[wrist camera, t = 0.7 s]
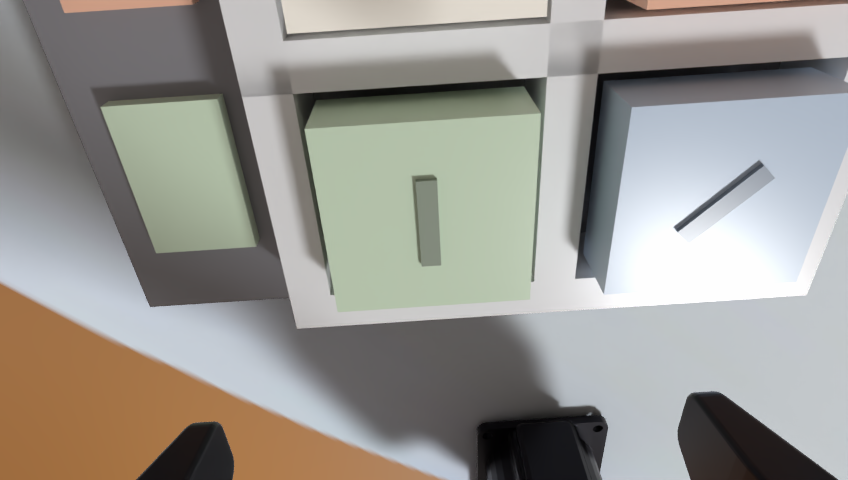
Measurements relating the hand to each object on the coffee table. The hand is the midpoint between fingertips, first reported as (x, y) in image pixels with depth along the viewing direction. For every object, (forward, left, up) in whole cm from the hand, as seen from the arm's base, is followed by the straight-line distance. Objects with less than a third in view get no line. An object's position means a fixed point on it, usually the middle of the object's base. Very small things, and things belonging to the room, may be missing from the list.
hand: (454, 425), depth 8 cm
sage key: (0, 0, -8) cm, 8 cm away
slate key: (0, -7, -8) cm, 11 cm away
